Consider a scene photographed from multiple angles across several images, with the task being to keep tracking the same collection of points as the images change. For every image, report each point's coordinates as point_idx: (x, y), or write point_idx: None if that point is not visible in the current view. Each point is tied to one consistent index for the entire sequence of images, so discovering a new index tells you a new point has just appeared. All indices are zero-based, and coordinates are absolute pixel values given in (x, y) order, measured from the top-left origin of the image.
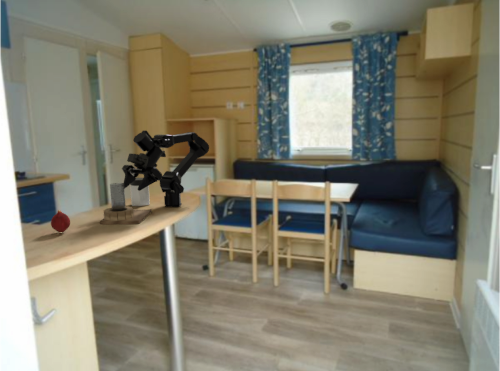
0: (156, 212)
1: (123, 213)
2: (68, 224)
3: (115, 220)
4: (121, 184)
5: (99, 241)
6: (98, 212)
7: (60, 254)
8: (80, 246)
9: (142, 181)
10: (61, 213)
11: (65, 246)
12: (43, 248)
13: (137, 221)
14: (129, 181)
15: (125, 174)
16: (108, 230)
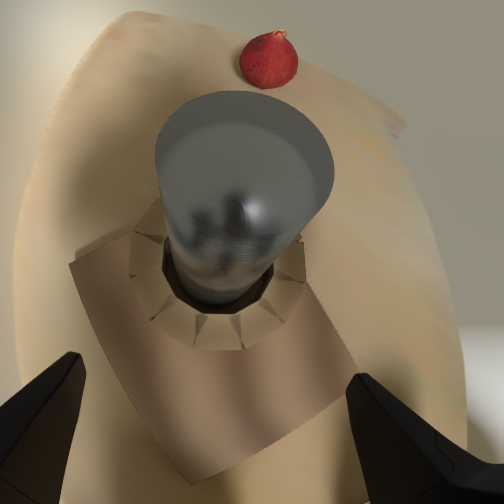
0: (164, 484)
1: (139, 226)
2: (241, 67)
3: None
4: (157, 144)
5: (90, 84)
6: (419, 326)
7: (122, 32)
8: (113, 56)
9: (4, 416)
10: (267, 35)
11: (148, 46)
12: (185, 31)
13: (76, 261)
14: (385, 480)
15: (487, 468)
16: (133, 146)
